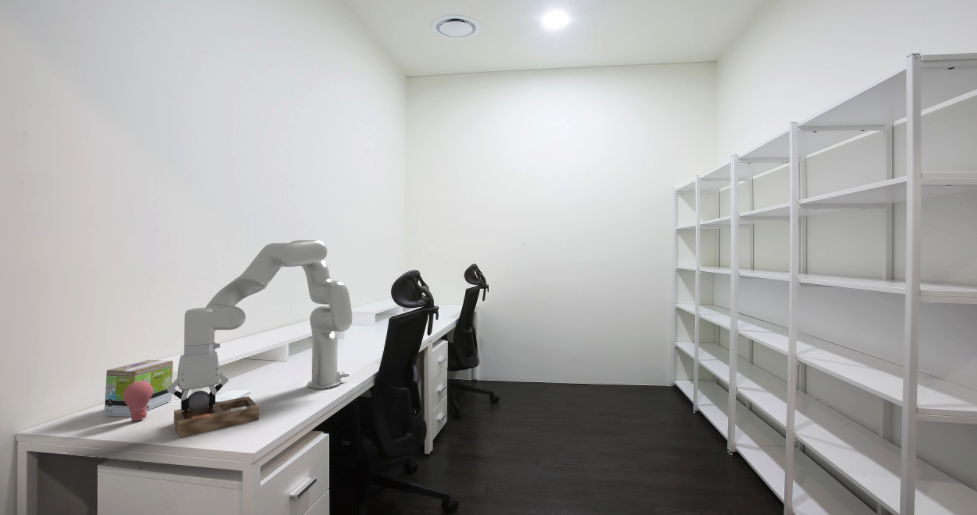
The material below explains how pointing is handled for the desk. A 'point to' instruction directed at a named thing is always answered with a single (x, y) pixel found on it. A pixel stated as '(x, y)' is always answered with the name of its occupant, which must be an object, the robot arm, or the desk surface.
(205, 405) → the dark grey ball
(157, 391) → the tea box
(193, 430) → the socket block
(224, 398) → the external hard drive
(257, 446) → the desk surface
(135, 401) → the light bulb
